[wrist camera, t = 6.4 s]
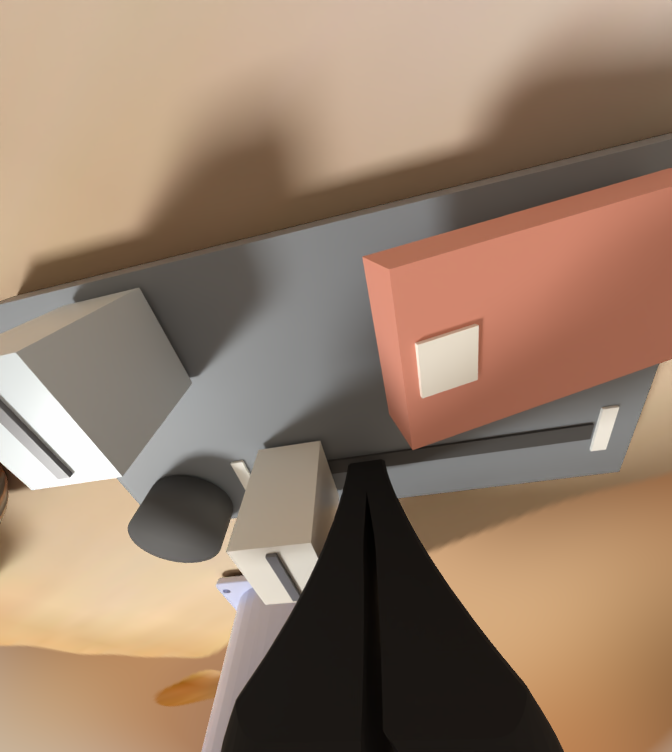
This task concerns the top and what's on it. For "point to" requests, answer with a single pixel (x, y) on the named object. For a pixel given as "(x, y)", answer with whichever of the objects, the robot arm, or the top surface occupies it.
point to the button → (182, 519)
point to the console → (349, 347)
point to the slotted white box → (85, 390)
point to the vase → (3, 493)
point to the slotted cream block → (284, 520)
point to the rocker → (523, 307)
